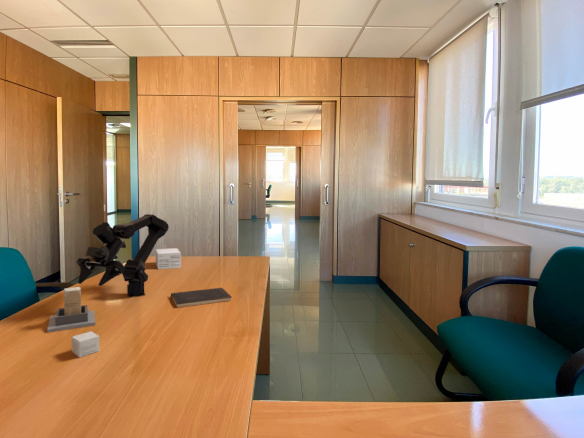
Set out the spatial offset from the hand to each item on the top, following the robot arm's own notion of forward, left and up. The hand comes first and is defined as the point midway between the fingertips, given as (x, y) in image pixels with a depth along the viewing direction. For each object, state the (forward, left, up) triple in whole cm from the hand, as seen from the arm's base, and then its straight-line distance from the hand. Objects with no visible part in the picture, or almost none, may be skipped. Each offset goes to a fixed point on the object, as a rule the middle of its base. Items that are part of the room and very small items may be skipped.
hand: (89, 284), depth 136 cm
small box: (+2, +34, -12) cm, 36 cm away
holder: (+6, +6, -11) cm, 14 cm away
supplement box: (-42, -71, -12) cm, 84 cm away
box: (+5, +5, -11) cm, 13 cm away
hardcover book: (-42, 0, -12) cm, 44 cm away
